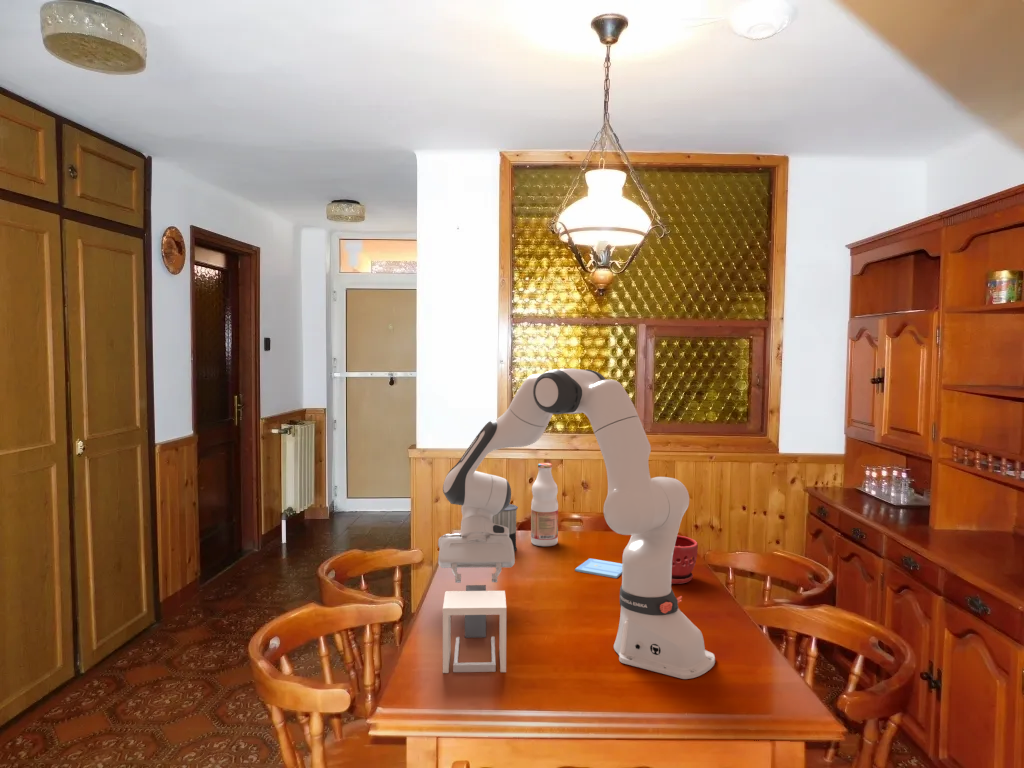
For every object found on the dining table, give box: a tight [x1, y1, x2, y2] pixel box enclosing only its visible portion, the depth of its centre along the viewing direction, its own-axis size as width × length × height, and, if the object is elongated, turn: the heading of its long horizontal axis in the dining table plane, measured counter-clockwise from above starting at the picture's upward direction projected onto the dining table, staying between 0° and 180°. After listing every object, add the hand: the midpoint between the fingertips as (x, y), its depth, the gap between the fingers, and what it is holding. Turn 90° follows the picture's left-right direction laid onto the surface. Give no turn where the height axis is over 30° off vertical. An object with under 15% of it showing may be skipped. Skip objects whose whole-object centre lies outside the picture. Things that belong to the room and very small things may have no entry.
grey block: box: [464, 584, 487, 639], centre depth 169 cm, size 13×5×8 cm, turn 2°
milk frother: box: [492, 503, 519, 552], centre depth 229 cm, size 14×16×15 cm
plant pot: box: [671, 534, 699, 585], centre depth 204 cm, size 13×13×12 cm
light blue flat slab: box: [574, 557, 622, 579], centre depth 213 cm, size 14×12×1 cm
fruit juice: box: [530, 462, 559, 547], centre depth 240 cm, size 9×9×28 cm
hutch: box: [442, 590, 507, 674], centre depth 153 cm, size 16×13×14 cm
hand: (476, 581), depth 177 cm, fingers open, 8 cm apart
